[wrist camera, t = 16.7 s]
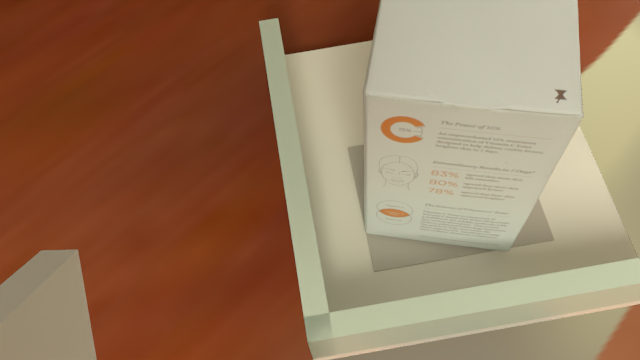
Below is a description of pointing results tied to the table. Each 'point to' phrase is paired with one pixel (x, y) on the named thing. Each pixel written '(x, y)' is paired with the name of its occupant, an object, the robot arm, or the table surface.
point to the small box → (467, 116)
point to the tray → (422, 256)
